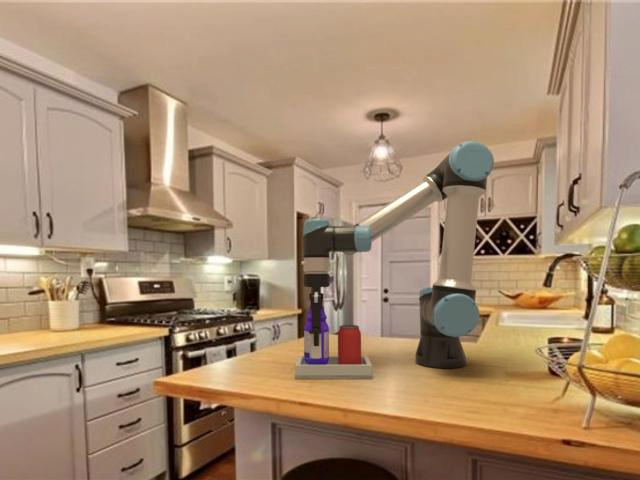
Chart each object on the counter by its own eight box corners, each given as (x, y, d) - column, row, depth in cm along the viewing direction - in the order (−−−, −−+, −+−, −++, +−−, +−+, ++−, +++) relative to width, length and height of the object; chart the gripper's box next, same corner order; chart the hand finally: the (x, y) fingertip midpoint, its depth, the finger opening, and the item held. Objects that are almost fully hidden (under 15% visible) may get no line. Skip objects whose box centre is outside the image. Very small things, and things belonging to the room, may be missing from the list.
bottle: (333, 364, 114) (332, 301, 116) (319, 367, 110) (318, 302, 112) (314, 360, 119) (314, 300, 121) (300, 363, 115) (300, 301, 117)
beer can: (349, 373, 110) (349, 328, 111) (333, 369, 115) (332, 326, 116) (366, 369, 114) (365, 326, 115) (349, 365, 119) (349, 324, 120)
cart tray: (367, 368, 120) (367, 356, 121) (372, 379, 108) (372, 365, 108) (298, 368, 121) (298, 356, 121) (295, 379, 109) (295, 365, 109)
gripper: (305, 273, 127) (305, 348, 125) (301, 273, 107) (301, 362, 105) (329, 272, 127) (329, 348, 125) (329, 272, 107) (330, 362, 105)
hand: (316, 354), depth 115 cm, fingers closed on bottle, 7 cm apart
